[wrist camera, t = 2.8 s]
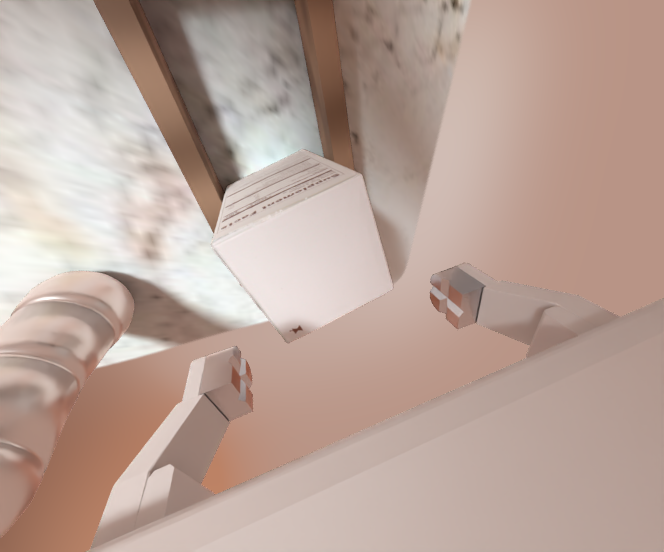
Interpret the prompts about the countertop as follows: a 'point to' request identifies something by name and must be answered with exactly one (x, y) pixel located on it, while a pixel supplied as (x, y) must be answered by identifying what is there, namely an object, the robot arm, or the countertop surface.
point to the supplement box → (302, 242)
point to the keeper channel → (171, 113)
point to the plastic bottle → (50, 372)
